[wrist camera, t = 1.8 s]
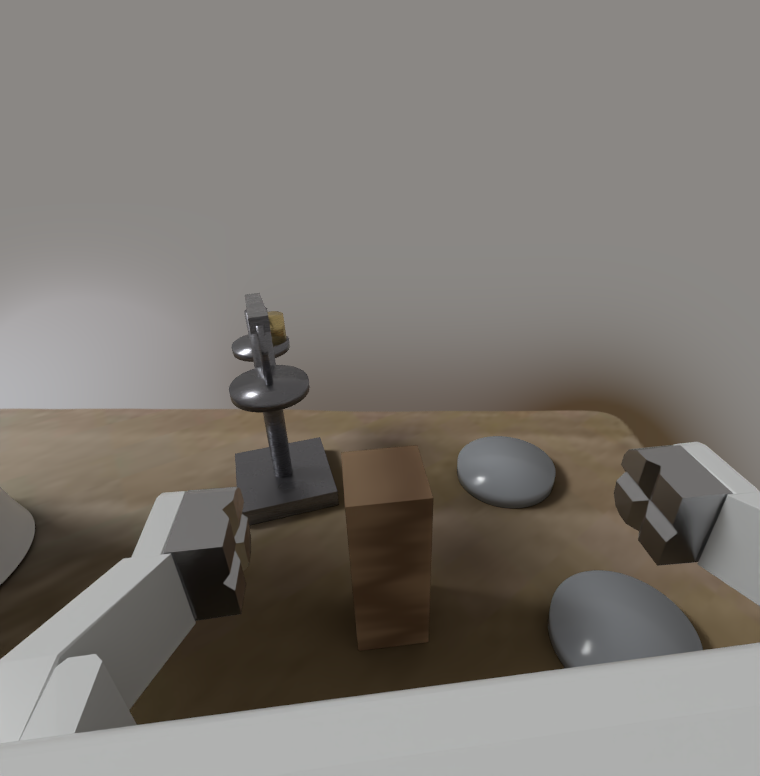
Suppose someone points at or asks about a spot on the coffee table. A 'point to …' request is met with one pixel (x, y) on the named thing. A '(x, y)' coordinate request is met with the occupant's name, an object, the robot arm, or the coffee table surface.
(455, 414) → the coffee table surface
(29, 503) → the coffee table surface
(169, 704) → the coffee table surface
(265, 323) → the balance
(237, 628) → the coffee table surface
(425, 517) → the pillar
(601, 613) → the grey oval dome
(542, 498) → the grey flat pebble
